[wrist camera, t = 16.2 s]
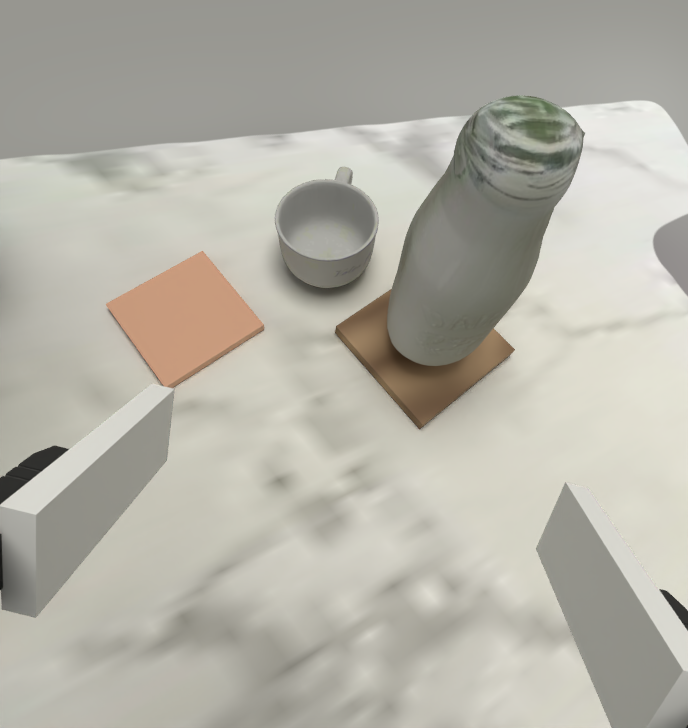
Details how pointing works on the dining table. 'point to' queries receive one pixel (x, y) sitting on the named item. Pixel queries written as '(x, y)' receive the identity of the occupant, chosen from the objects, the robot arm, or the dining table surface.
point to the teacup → (327, 230)
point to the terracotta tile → (185, 319)
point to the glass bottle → (481, 228)
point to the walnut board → (416, 364)
